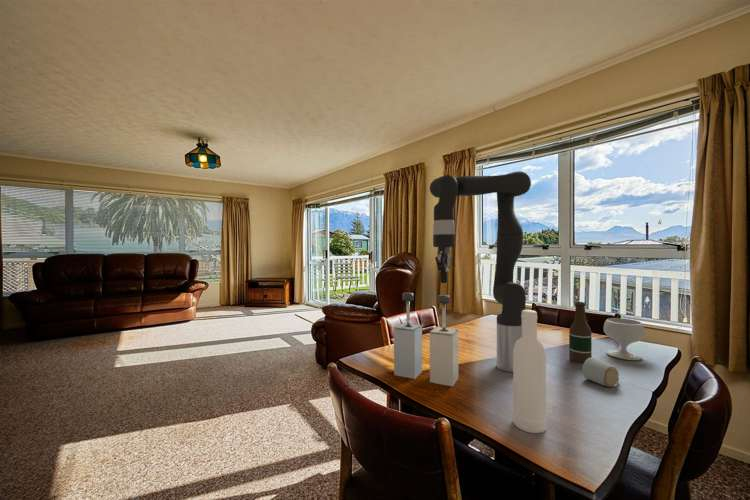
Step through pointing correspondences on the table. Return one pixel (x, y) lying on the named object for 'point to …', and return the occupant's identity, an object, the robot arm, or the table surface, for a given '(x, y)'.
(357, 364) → the table surface
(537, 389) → the bottle
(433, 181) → the robot arm
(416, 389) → the table surface
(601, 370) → the cream cylinder
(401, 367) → the block
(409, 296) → the grey plunger
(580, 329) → the beer bottle
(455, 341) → the block
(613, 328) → the chalice
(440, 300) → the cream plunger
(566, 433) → the table surface
